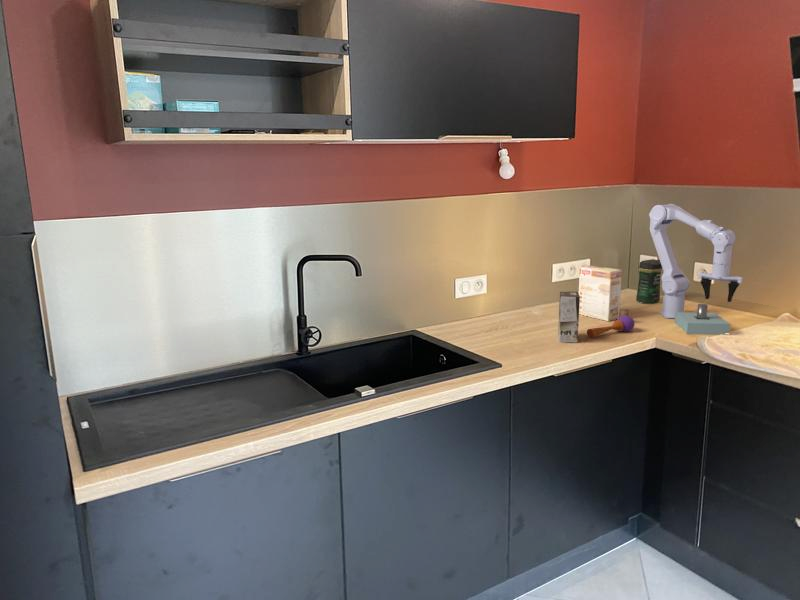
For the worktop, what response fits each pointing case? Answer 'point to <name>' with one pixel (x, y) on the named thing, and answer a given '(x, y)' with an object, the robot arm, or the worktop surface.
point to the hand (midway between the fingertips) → (718, 300)
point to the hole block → (702, 323)
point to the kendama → (614, 326)
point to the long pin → (702, 311)
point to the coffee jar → (649, 281)
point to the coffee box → (568, 316)
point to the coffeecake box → (599, 292)
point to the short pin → (623, 312)
